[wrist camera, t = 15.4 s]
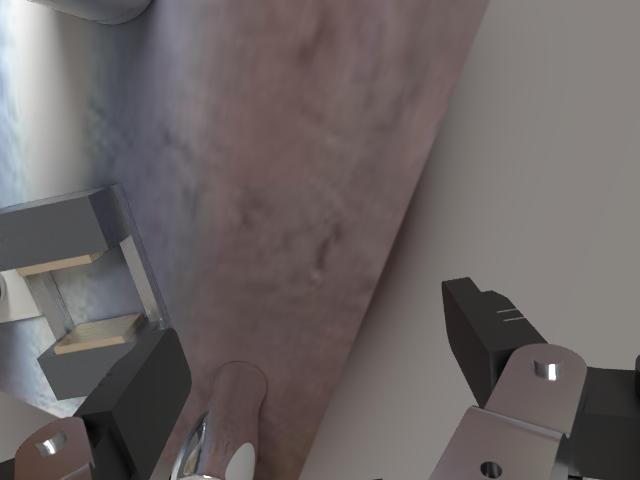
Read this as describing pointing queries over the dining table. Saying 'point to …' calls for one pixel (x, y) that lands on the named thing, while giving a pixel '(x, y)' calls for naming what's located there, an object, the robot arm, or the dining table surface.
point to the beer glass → (225, 428)
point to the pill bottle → (2, 288)
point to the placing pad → (18, 298)
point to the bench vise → (71, 250)
